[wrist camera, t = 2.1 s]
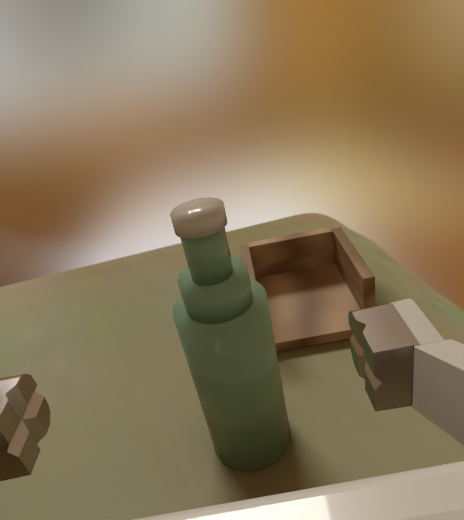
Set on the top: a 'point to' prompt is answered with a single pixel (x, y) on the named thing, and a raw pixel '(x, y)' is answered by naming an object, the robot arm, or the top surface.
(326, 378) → the top surface
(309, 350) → the top surface
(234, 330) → the bottle
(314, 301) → the u rest
